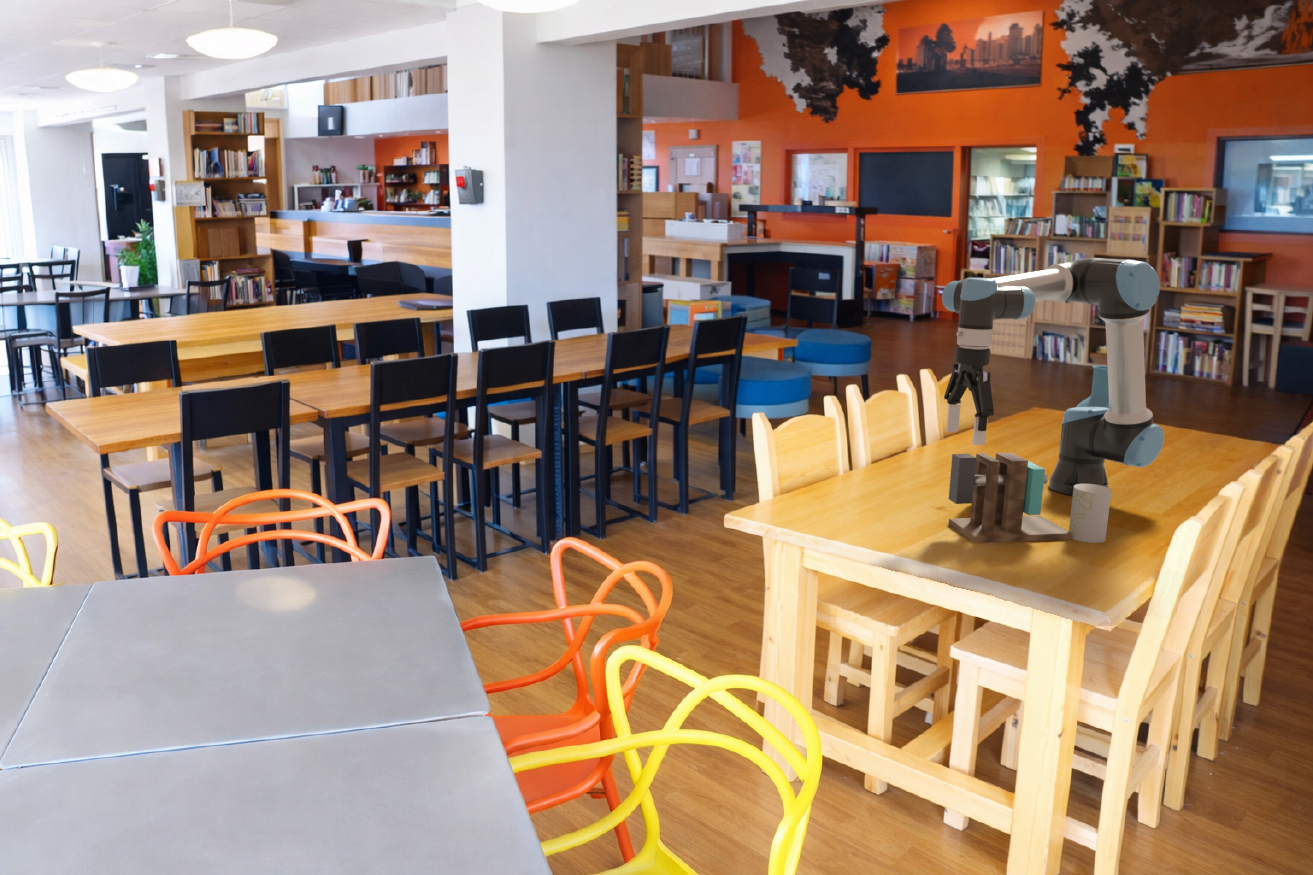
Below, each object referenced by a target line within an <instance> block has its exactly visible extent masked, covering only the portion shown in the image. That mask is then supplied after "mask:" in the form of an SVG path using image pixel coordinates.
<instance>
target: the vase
mask: <svg viewBox="0 0 1313 875" xmlns="http://www.w3.org/2000/svg"><path fill="white" fill-rule="evenodd" d="M1092 368H1093V374H1092V382H1091V383H1092V384H1091V393H1090V395H1089V396H1088V397H1087V398H1086V399H1083V400H1082V401H1080V402H1079V403H1078V404H1077V405H1076V406H1075V407H1106V408H1109V409H1110V406H1109V385H1108V365H1093V366H1092Z"/></svg>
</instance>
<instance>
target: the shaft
mask: <svg viewBox="0 0 1313 875" xmlns="http://www.w3.org/2000/svg"><path fill="white" fill-rule="evenodd" d="M975 465H976V456H974V455H972V454H970V453H952V454H951V465H950V466H951V467H950V479H949V488H948V500H949V501H950V502H953V504H956V505H964V504H965V505H966V504H971V503H972V499H973V488H974V486H985V485H986V475H975ZM1048 479H1049V476H1048V474H1047V473H1046V472H1045V475H1044V484H1043V485H1046V484H1047V483H1048V482H1049V480H1048ZM1005 484H1006V474H999V478H998V485H1005Z"/></svg>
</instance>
